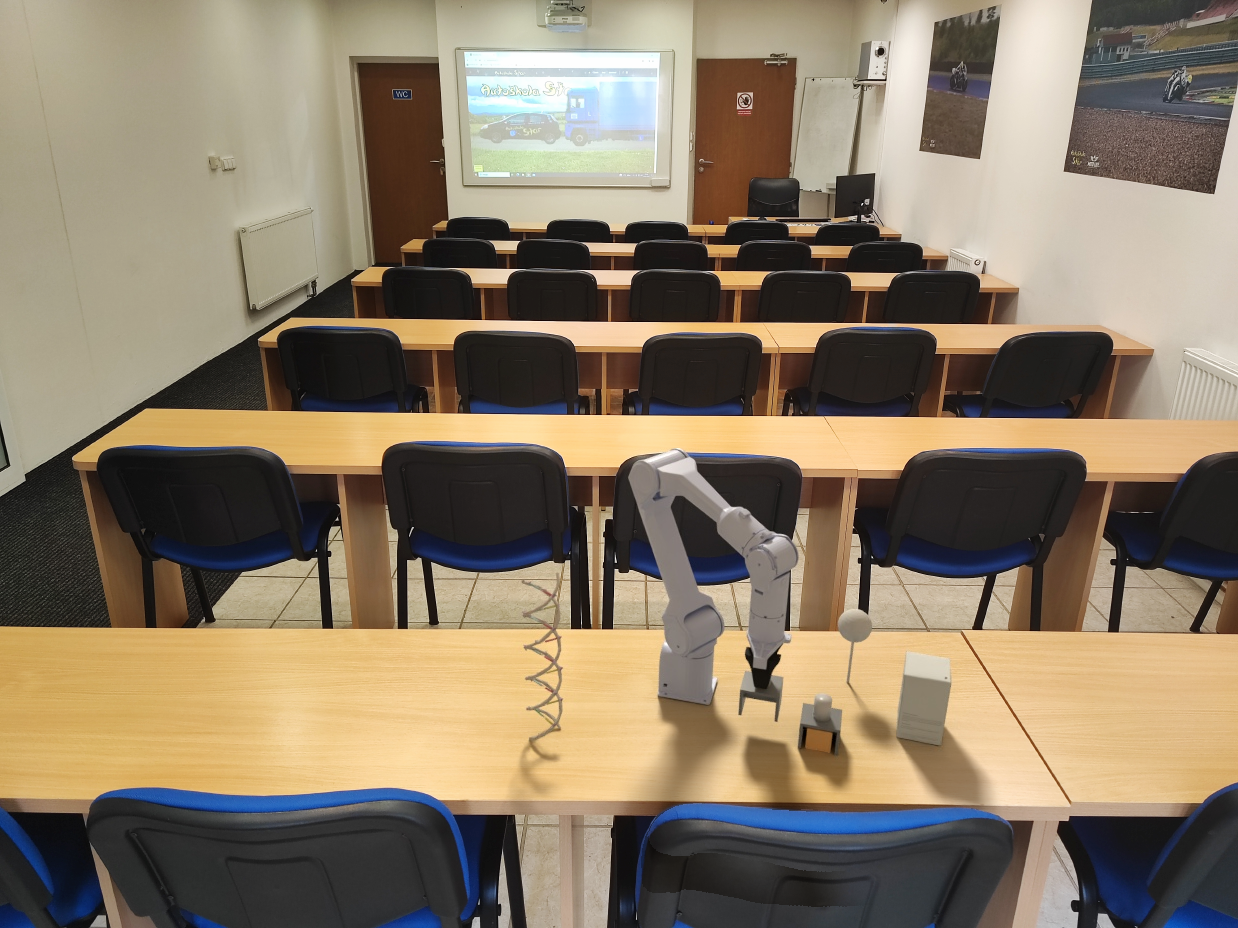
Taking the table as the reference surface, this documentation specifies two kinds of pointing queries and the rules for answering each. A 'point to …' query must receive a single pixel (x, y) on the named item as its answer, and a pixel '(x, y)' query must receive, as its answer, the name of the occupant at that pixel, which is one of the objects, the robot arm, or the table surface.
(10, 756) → the table surface
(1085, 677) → the table surface
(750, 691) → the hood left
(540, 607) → the dna model
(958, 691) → the table surface
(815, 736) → the cube
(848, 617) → the lollipop
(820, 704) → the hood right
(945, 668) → the supplement box
